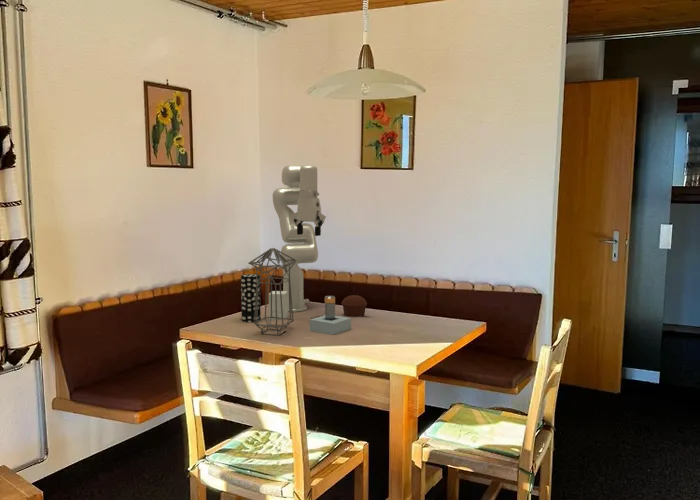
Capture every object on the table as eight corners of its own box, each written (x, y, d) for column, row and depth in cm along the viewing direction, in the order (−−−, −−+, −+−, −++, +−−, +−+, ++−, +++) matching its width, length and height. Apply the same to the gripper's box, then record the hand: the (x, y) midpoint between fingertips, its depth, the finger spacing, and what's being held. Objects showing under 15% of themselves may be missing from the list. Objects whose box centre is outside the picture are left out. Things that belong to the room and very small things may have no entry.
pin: (329, 329, 266) (328, 295, 264) (337, 330, 263) (337, 296, 262) (323, 331, 262) (322, 296, 261) (331, 332, 260) (330, 297, 259)
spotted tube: (259, 322, 282) (258, 277, 280) (240, 322, 282) (239, 276, 280) (262, 318, 291) (261, 274, 288) (243, 318, 291) (242, 274, 288)
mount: (322, 323, 281) (322, 313, 281) (337, 325, 277) (337, 316, 276) (308, 327, 273) (308, 318, 273) (323, 329, 269) (323, 320, 268)
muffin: (368, 315, 297) (368, 293, 296) (366, 320, 286) (366, 298, 285) (342, 314, 298) (342, 293, 297) (339, 320, 288) (339, 297, 286)
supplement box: (288, 318, 290) (288, 290, 288) (285, 322, 282) (285, 293, 281) (272, 318, 291) (272, 290, 289) (268, 322, 283) (268, 293, 282)
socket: (327, 328, 271) (327, 314, 270) (351, 332, 264) (351, 318, 264) (309, 334, 261) (309, 319, 261) (333, 338, 254) (333, 323, 254)
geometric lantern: (299, 330, 268) (298, 246, 263) (282, 340, 253) (281, 251, 248) (264, 326, 273) (264, 244, 268) (246, 336, 259) (245, 249, 254)
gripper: (330, 195, 274) (330, 235, 276) (298, 194, 284) (298, 233, 285) (319, 195, 268) (319, 236, 270) (287, 194, 277) (287, 234, 279)
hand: (308, 235), depth 277 cm, fingers open, 9 cm apart
